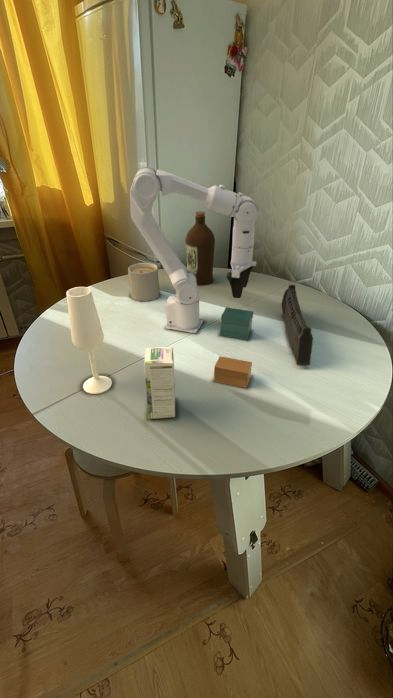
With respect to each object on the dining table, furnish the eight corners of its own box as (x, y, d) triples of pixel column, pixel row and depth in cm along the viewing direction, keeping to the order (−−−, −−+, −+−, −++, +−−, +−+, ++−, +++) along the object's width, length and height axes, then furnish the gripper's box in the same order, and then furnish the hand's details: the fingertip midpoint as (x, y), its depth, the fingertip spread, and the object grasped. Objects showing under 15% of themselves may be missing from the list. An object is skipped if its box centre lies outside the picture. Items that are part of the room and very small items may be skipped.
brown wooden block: (213, 381, 85) (214, 374, 83) (218, 370, 88) (219, 363, 87) (246, 388, 83) (247, 380, 81) (250, 376, 86) (251, 369, 85)
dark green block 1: (220, 329, 101) (220, 322, 99) (225, 320, 105) (225, 313, 104) (248, 333, 99) (248, 327, 97) (251, 324, 103) (252, 317, 102)
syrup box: (149, 401, 79) (143, 347, 71) (175, 399, 79) (173, 346, 71) (148, 419, 74) (142, 364, 66) (176, 417, 75) (173, 362, 66)
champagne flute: (87, 375, 87) (67, 284, 73) (114, 375, 87) (99, 284, 73) (79, 393, 81) (55, 298, 68) (108, 394, 81) (90, 299, 68)
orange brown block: (214, 374, 83) (214, 366, 82) (219, 363, 87) (219, 356, 86) (247, 380, 81) (248, 373, 80) (251, 369, 85) (252, 362, 84)
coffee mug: (159, 300, 121) (157, 272, 115) (130, 302, 120) (127, 274, 115) (159, 284, 132) (157, 258, 126) (132, 286, 131) (129, 259, 126)
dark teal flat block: (221, 322, 99) (221, 315, 98) (225, 313, 104) (226, 307, 102) (249, 327, 97) (249, 320, 96) (252, 317, 102) (253, 311, 100)
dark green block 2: (220, 335, 102) (220, 329, 101) (224, 326, 106) (225, 320, 105) (247, 340, 100) (248, 333, 99) (251, 331, 104) (251, 324, 103)
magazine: (317, 344, 81) (301, 264, 100) (303, 344, 82) (290, 263, 100) (302, 385, 95) (290, 307, 114) (290, 385, 95) (280, 307, 114)
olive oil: (203, 272, 142) (203, 207, 128) (219, 281, 134) (221, 213, 120) (180, 279, 137) (178, 211, 123) (196, 288, 129) (196, 217, 115)
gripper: (252, 255, 88) (248, 304, 95) (262, 238, 99) (257, 283, 107) (225, 252, 90) (223, 301, 97) (237, 236, 101) (235, 281, 109)
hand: (239, 291), depth 102 cm, fingers open, 7 cm apart
